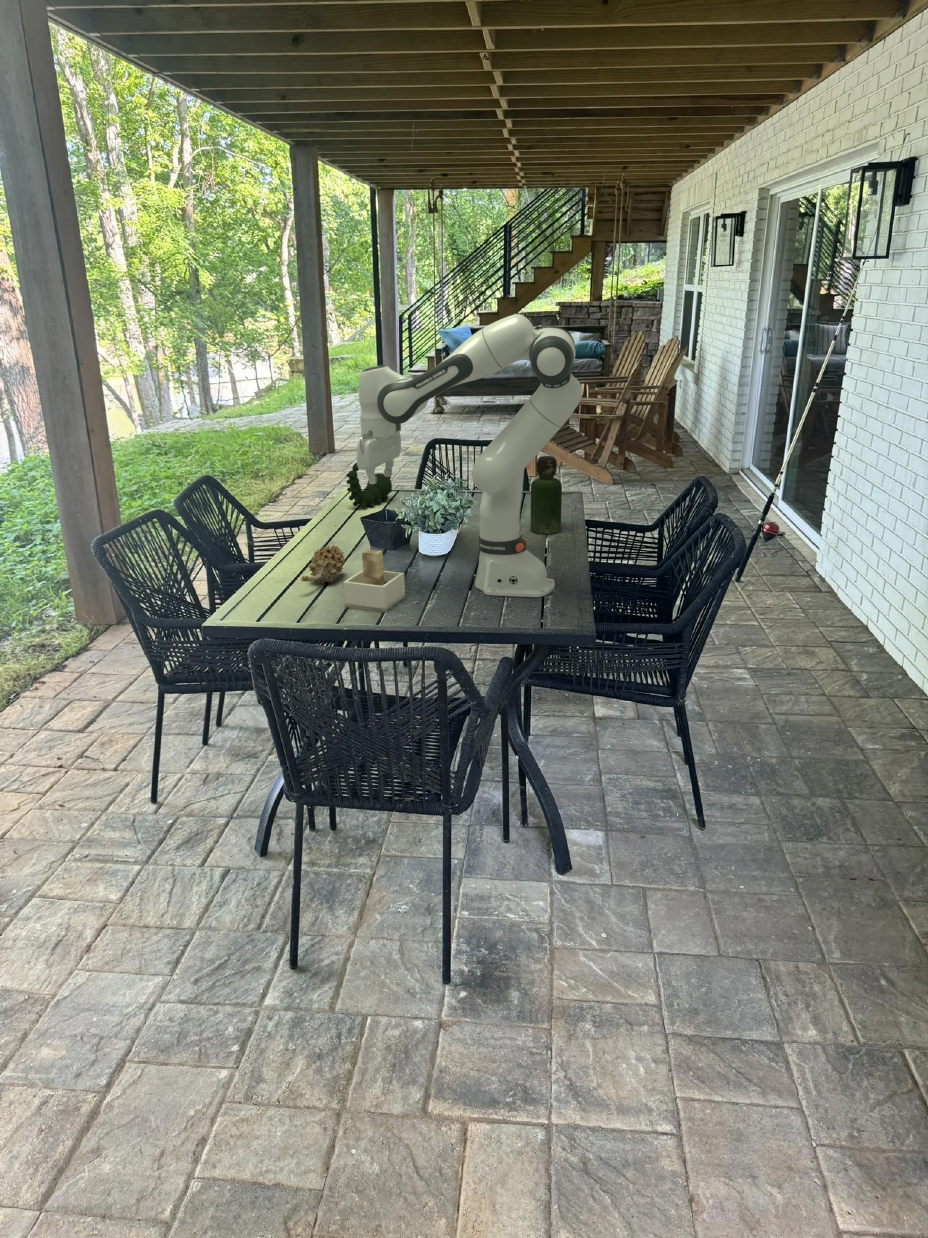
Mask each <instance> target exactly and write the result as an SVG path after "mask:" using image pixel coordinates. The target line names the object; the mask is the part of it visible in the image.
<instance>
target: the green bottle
mask: <svg viewBox="0 0 928 1238" xmlns="http://www.w3.org/2000/svg"><path fill="white" fill-rule="evenodd" d="M557 468H558V463H557V459H556V458H555V456H552V455H542V456H539V457H538V458H537V460H536V475H537V476H538V478H534V480H533V481H532V482H531V484H530V531H531V532H533V533H535V534H540V535H552V534H556V533H559V532H560V531H561V530H562V502H563V501H562V500H563V499H562V498H563V496H562V495H563V494H562V491H563V485H562V482H561V480H559V479H558V478H556V477H554V476H556V475H557V471H558V470H557Z"/></svg>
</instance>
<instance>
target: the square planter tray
mask: <svg viewBox="0 0 928 1238" xmlns="http://www.w3.org/2000/svg"><path fill="white" fill-rule="evenodd" d="M384 581H386V582H387V583H386V584H384V585H383V586H380V585H372V584H364V575H363V569H362V570H360V571H359V572H356V573H355V574H353V575H352V576H351V577H348V578H347V579H346V580H344V581H343V583H342V584H343V586H342V587H343V598H344V608H351V609H357V610H364V611H372V612H381V613H387V611H389V610H391V609H392V608H393V607H395V606H396V605H397V604H398V603H400V602H401V601H402V600H404V599H406V588H405V585H406V584H405V583H406V582H405V572H398V571H390V570H384Z"/></svg>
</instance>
